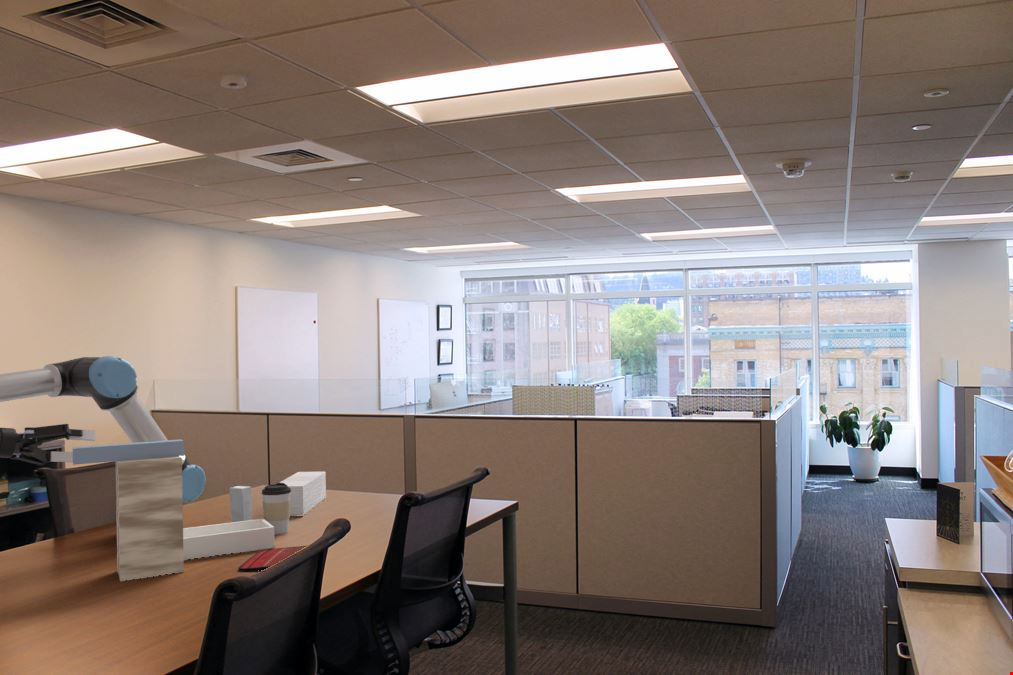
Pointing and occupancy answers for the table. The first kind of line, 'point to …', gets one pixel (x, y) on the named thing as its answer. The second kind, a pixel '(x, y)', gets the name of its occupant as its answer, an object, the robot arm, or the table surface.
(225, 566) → the table surface
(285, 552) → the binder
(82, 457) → the block
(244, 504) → the skincare box
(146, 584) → the table surface
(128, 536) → the beige tall box
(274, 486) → the coffee cup
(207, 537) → the tray
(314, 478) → the stack of papers
